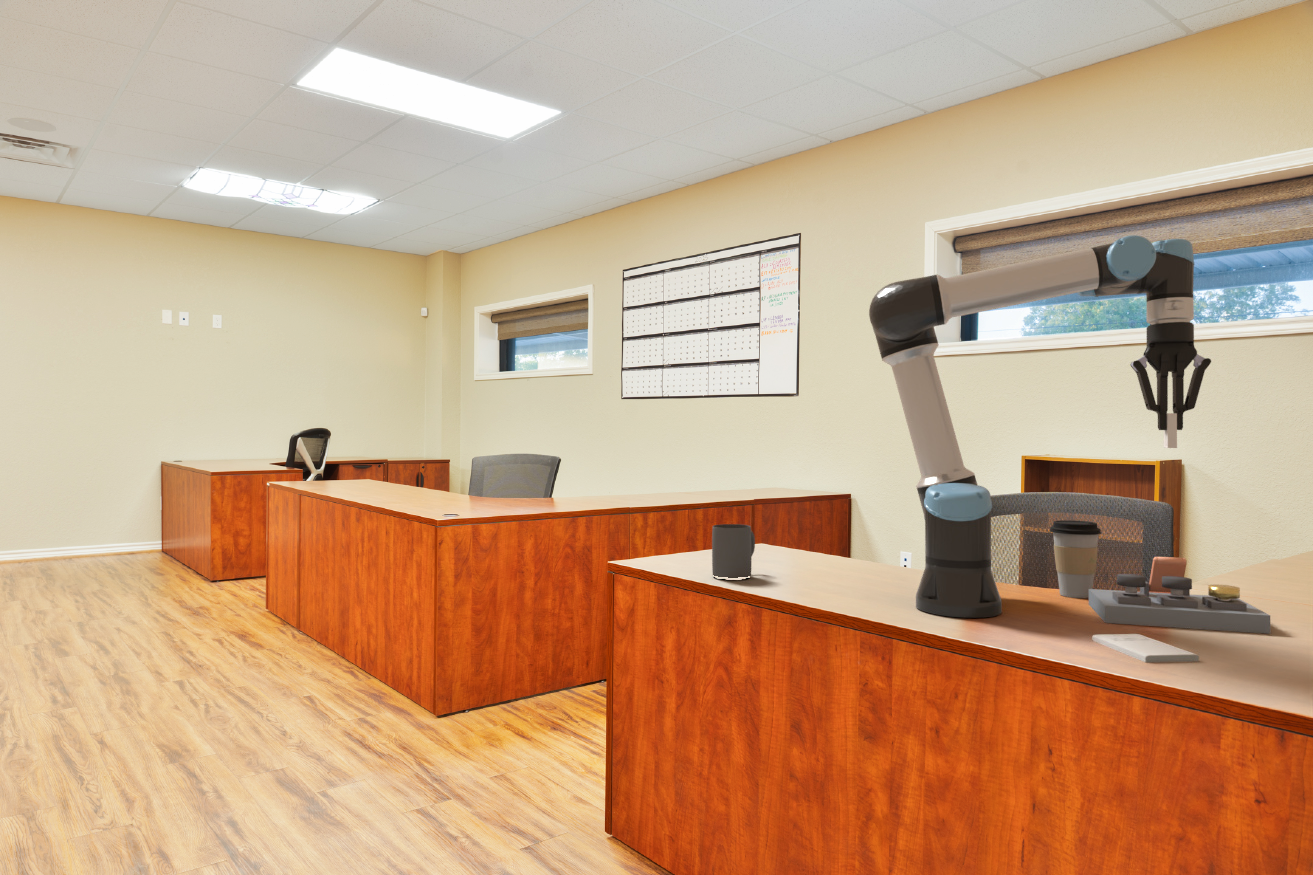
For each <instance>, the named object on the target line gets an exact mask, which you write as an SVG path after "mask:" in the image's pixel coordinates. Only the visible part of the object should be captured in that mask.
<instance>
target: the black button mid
mask: <svg viewBox="0 0 1313 875" xmlns="http://www.w3.org/2000/svg"><path fill="white" fill-rule="evenodd" d="M1162 587H1164V588H1169V589H1171V595H1175V596H1183V590H1192V589H1193V579H1192V578H1190V577H1185V576H1184V577H1177V576H1163V577H1162Z"/></svg>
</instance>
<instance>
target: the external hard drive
mask: <svg viewBox="0 0 1313 875" xmlns="http://www.w3.org/2000/svg"><path fill="white" fill-rule="evenodd" d="M1091 640H1092V641H1093V642H1095V643H1098V644H1100V645H1102V646H1105V647H1107V648H1110V649H1112V650H1114V651H1116V652H1120V653H1122V654H1123V655H1127V656H1129V657H1131V658H1134V659H1136V660H1139V661H1141V662H1144V663H1174V662H1175V663H1177V662H1179V663H1180V662H1200V656H1199V654H1196V653H1193V652H1191V651H1187V650H1185V649H1182V648H1179V647H1176V646H1174V645H1171V644H1168V643H1165V642H1163V641H1160V640H1157V639H1154V638H1151V637H1147V636H1145V635H1142V634H1139V633H1127V634H1126V633H1119V634H1118V633H1115V634H1114V633H1111V634H1104V633H1103V634H1093V635H1092V639H1091Z"/></svg>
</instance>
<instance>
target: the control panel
mask: <svg viewBox="0 0 1313 875" xmlns="http://www.w3.org/2000/svg"><path fill="white" fill-rule="evenodd" d="M1190 590H1191V589H1190ZM1190 590H1183V596H1175V595H1171V593H1169V592H1151V591H1149V582H1148V581H1146V587H1139V591H1137V593H1127V592H1125V590H1114V589H1099V588H1098V589H1095V588H1093V589H1089V598H1088V605H1089V607H1090V608H1092V610H1093V611H1094V612H1095V613H1096V614H1097V615H1098V617H1099V618H1101V619H1102V621H1103V622H1104V623H1107V624H1118V625H1119V624H1121V625H1134V626H1151V627H1165V628H1177V629H1178V628H1181V629H1194V630H1195V629H1197V630H1209V631H1211V630H1212V631H1227V632H1237V633H1238V632H1239V633H1256V634H1268V635H1269V634H1271V615H1270V614H1269V613H1267V612H1264V611H1263V610H1261V609H1259V608H1258V607H1255V606H1253V605H1252V604H1249V603H1248V602H1246V601H1244V600H1243V599H1240V598H1237V599H1230V602H1224V601H1218V597H1213V596H1209V595H1208V594H1192V593H1191V591H1190Z"/></svg>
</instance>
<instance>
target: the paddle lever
mask: <svg viewBox="0 0 1313 875" xmlns="http://www.w3.org/2000/svg"><path fill="white" fill-rule="evenodd" d="M1151 563H1152V565H1151V570H1150V576H1149V582H1148V583H1149V592H1154V593H1171V589H1169V588H1164V587H1162V577H1163V576H1177V577H1185V573H1186V568H1187V559H1186V558H1185V557H1172V556H1171V557H1170V556H1154V557H1153V559H1152V562H1151Z"/></svg>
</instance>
